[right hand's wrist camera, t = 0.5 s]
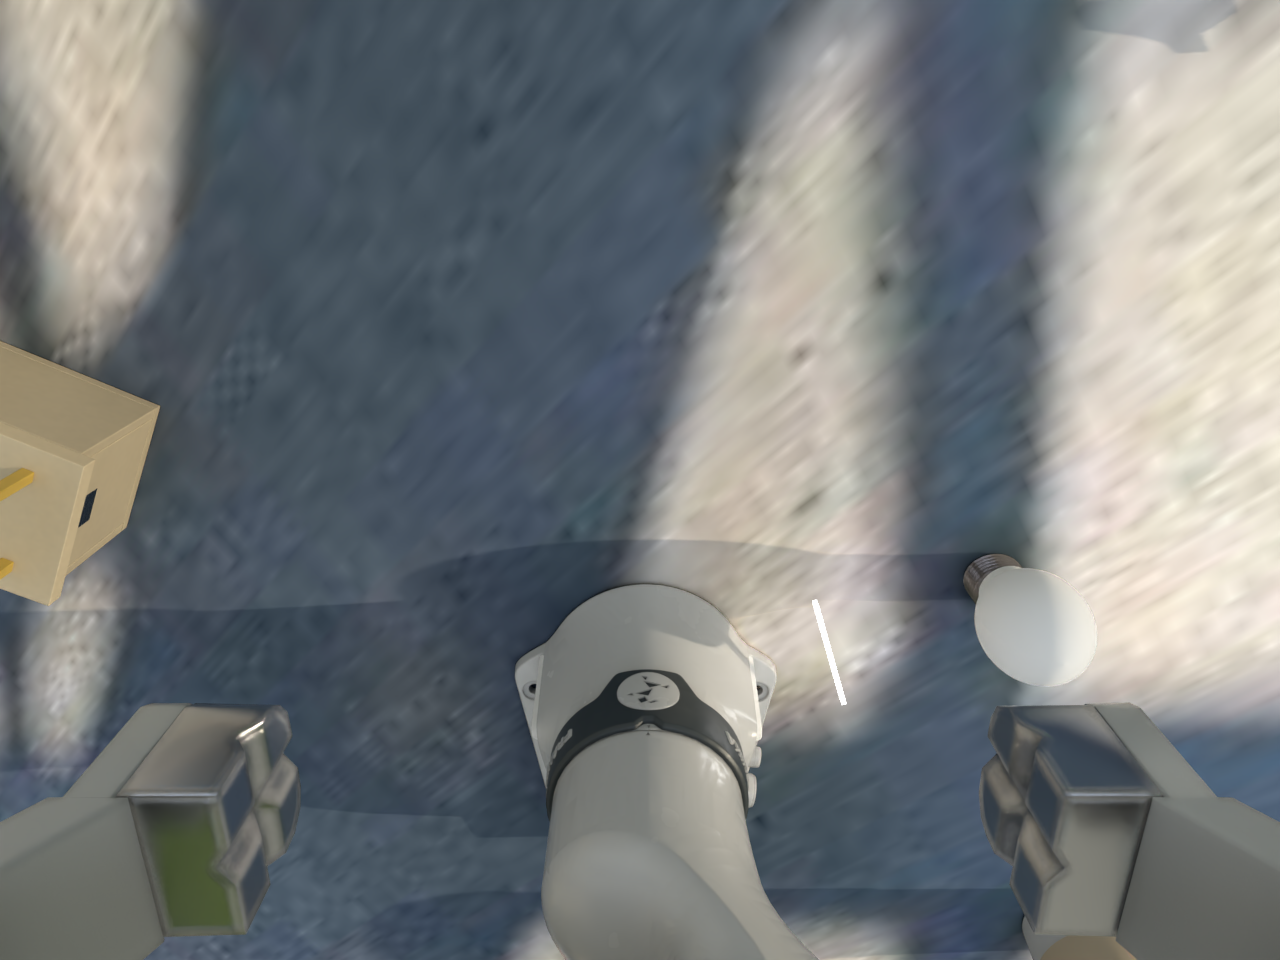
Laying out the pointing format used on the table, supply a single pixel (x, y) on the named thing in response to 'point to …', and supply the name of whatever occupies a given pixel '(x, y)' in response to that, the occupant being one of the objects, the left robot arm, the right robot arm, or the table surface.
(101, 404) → the chest
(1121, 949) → the coffee cup
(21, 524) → the lid
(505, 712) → the table surface
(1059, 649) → the light bulb
